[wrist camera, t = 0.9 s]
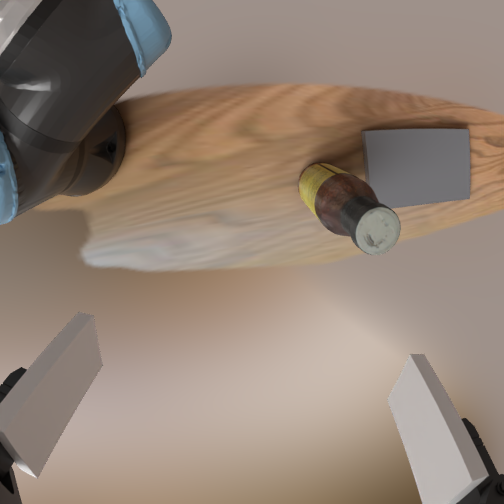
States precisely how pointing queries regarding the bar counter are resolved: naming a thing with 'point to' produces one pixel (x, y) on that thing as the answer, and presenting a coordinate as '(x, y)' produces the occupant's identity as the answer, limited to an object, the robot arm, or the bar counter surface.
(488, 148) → the bar counter surface
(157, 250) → the bar counter surface
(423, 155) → the gray rectangular mat
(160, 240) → the bar counter surface
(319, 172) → the sauce bottle
